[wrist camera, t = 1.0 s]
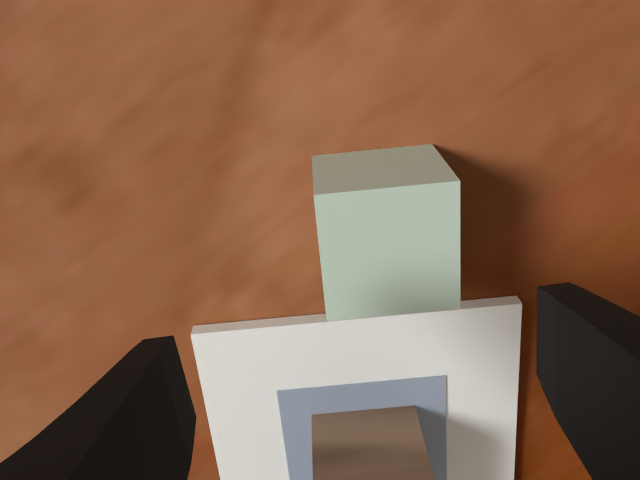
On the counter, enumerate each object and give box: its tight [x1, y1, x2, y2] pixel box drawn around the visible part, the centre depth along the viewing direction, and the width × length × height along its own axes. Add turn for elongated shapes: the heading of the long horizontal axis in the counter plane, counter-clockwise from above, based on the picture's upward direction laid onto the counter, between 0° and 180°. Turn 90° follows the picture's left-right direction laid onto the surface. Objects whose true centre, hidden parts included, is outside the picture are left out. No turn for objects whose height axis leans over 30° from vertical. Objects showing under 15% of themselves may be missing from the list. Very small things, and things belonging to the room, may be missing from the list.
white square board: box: [191, 296, 522, 480], centre depth 25 cm, size 12×12×1 cm
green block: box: [312, 144, 460, 321], centre depth 19 cm, size 4×4×4 cm
